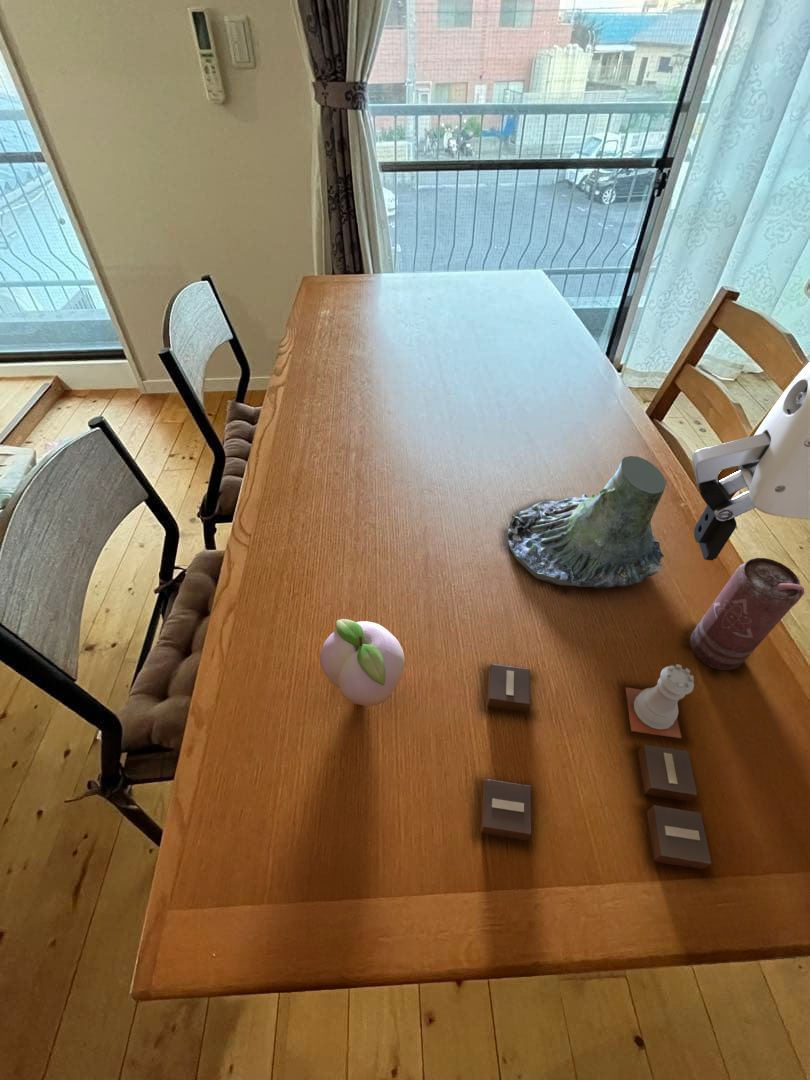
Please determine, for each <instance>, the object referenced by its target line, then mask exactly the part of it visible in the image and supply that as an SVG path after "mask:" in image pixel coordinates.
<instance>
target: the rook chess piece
mask: <svg viewBox="0 0 810 1080" xmlns="http://www.w3.org/2000/svg"><path fill="white" fill-rule="evenodd" d="M682 667H683V666H682V664H678V663H677V664H675V665H673V664H671V665H668V666H665V667H664V668H662V669H661V672H660V674H659V675H660V676H659V678H658V680H657V681H656V683H657V684H656V685H655V686H653V687H647V688H644V689H642V690H643V691H642V692H640V693H639V695H638V696H636V699H635V701H634V710H635V712H636V714H637V716H638V717H639V718H640V719H641V720H642V721H643V723H645V724H646V725H648V726H650V727H652V728H656V729H667V728H669V727H670V726H672V725H673V724H674V721H675V720H676V718H677V719H678V715H679V705H678V703H679V701H680V700H682V699H683V698H685V697H686V695H689V694H691V693H692V692H693V691H694V688H695V683H694V681H695V679H694V678H695V677H694V675H691V674H690V673H691V670H690V669H689V668H688V667H685V669H684V668H682Z"/></svg>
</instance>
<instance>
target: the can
mask: <svg viewBox="0 0 810 1080" xmlns="http://www.w3.org/2000/svg"><path fill="white" fill-rule="evenodd" d="M801 584H802V583H801V581H800V579H799V578H798V575H797V574H796V573H795V572H794V571H792V570H791V568H789V567H788V566H786V565H785V564H783V563H781V562H779V561H777V560H774V559H772V558H771V559H770V558H766V557H755V558H750V559H749V560H748V561H745V562H743V563H741V564H740V565H739V566H738V567H737V568H736V570H735V571H734V572H733V574H732V576H731V577H730V578H729V580H728V581H727V582H726V584H725V585H724V587H723V588H722V590H721V591H720V592H719V594H717V595H718V596H717V597H716V598H715V599H714V601H713V602H712V604H711V605H710V606H709V608H708V609H707V611H706V612H705V613H704V615H703V616H702V618H701V620H700V621H699V623H698V624H697V625H696V626H695V628H694V630H693V631H692V632H691V635H690V637H689V641H690V642H689V644H690V647H691V649H692V652H693V654H694V655H695V656H696V658H697V659H698V660H699V661H700V662H701V663H703V664H704V665H706V666H708V667H710V668H711V669H716V670H717V671H718V670H719V671H732V670H735V669H738V668H739V667H741V666H742V664H743V663H744V662H745V661H746V660H747V659H748V658H749V657H750V656H751V654H753V652H754V651H755V650H756V649H757V647H758V646H759V645H760V644H761V643H762V642H763V641H764V640H765V638H766V637H767V636H768V635H769V634H770V633H771V632H772V631H773V629H775V627H776V626H777V625H778V624H779V623H780V622H781V620H782V619H783V618H784V617H785V616H786V614H788V612H789V611H791V609H792V608H793V607H794V606H795V605H796V604H797V603H798V602H799V601H800V600H801V598H802V597H803V596H804V594H805V588H804V587H803V586H802V585H801Z"/></svg>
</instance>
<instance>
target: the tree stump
mask: <svg viewBox="0 0 810 1080" xmlns="http://www.w3.org/2000/svg"><path fill="white" fill-rule="evenodd" d="M666 486H667V480H666V479H665V477H664V475H663V473H662V472H661V471H660V469H659V468H658V467H656V466H655V465H654V463H652V462H650V461H648V460H647V459H645V458H643V457H640V456H637V455H628V456H624V457H623V458H622V459H621V461H620V464H619V466H618V468H617V470H616V471H615V473H614V475H613V476H612V477H611V478H610V479H609V480H608V482H607V483H606V484H605V486H604V487H603V489H601V490H600V491H599V493H597V494H592V496H591V497H589V496H588V495H587V494H586V493H583V494H582V495H581V497H570V496H569V497H567V498H565V499H559V500H558V501H557V500H556V501H553V500H550V501H547V500H545V501H540V502H537V503H533V504H532V505H530V506H529V507H527V508H525V509H522V510H519V511H518V512H517V513H516V515H515V514H512V517H511V520H510V521H509V526H508V529H507V530H508V531H507V542H508V546H509V550H510V552H511V554H512V555H513V556H514V558H515V559H516V561H517V562H518V563H519V564H520V565H521V566H523V567H524V568H525V569H526V570H527V571H528V572H529V573H530V574H531V575H532V576H533V577H534V578H535V579H537V580H540V581H543V582H546V583H548V584H551V585H554V586H568V587H584V588H599V589H600V588H601V589H604V588H605V589H607V588H614V587H629V586H632V585H635V584H636V585H637V584H641V583H643V582H644V580H646V579H648V578H649V577H652V576H654V575H656V574H657V573H659V571H660V570H661V569H662V568H663V564H662V563H661V559H662V558H664V554H663V553H662V550H661V548H660V547H661V546H660V545H661V544H660V541H659V540H658V539H656V537H655V536H654V534H653V529H652V524H651V522H652V519H653V517H654V514H655V512H656V509H657V507H658V505H659V503H660V501H661V498H662V497H663V494H664V491H665V489H666Z"/></svg>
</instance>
